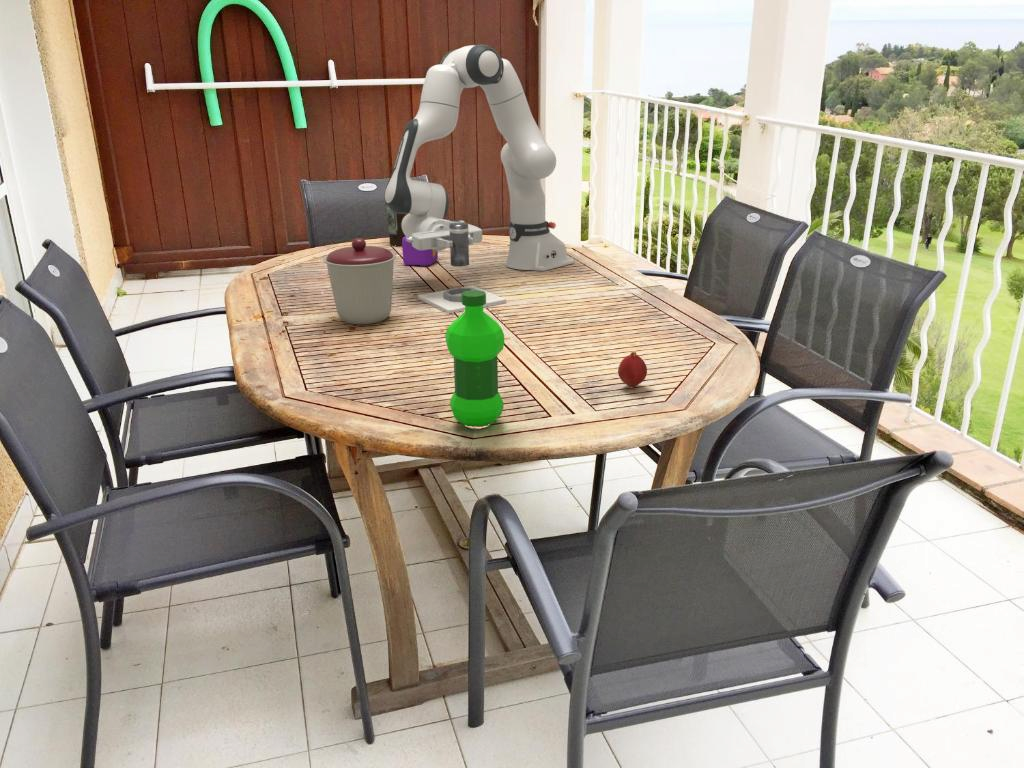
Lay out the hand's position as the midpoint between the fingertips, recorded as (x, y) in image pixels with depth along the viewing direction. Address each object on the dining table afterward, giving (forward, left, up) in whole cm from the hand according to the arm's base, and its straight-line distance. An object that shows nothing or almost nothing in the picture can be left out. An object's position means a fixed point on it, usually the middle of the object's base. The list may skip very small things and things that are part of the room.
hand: (460, 243), depth 218 cm
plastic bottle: (+38, +71, -16) cm, 82 cm away
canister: (+29, -1, -17) cm, 33 cm away
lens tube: (0, -1, -6) cm, 6 cm away
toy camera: (-12, -48, -17) cm, 52 cm away
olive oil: (-19, -77, -17) cm, 81 cm away
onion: (+3, +74, -17) cm, 76 cm away
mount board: (0, -1, -16) cm, 16 cm away
